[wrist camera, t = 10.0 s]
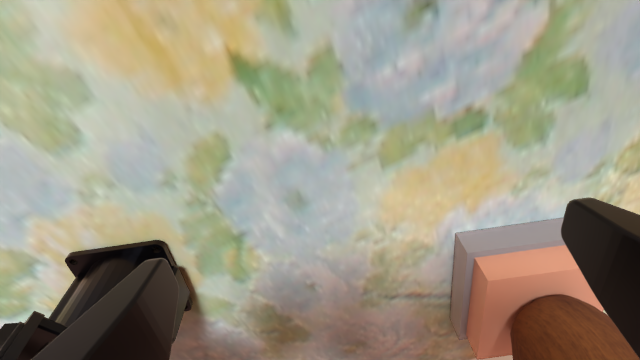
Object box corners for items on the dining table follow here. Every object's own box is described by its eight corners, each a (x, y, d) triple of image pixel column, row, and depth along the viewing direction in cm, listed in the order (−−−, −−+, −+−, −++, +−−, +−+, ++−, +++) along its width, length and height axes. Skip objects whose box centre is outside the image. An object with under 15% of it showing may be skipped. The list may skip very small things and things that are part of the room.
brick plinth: (449, 318, 30) (469, 364, 27) (455, 233, 26) (480, 276, 22) (561, 302, 30) (595, 347, 27) (587, 214, 25) (633, 254, 22)
